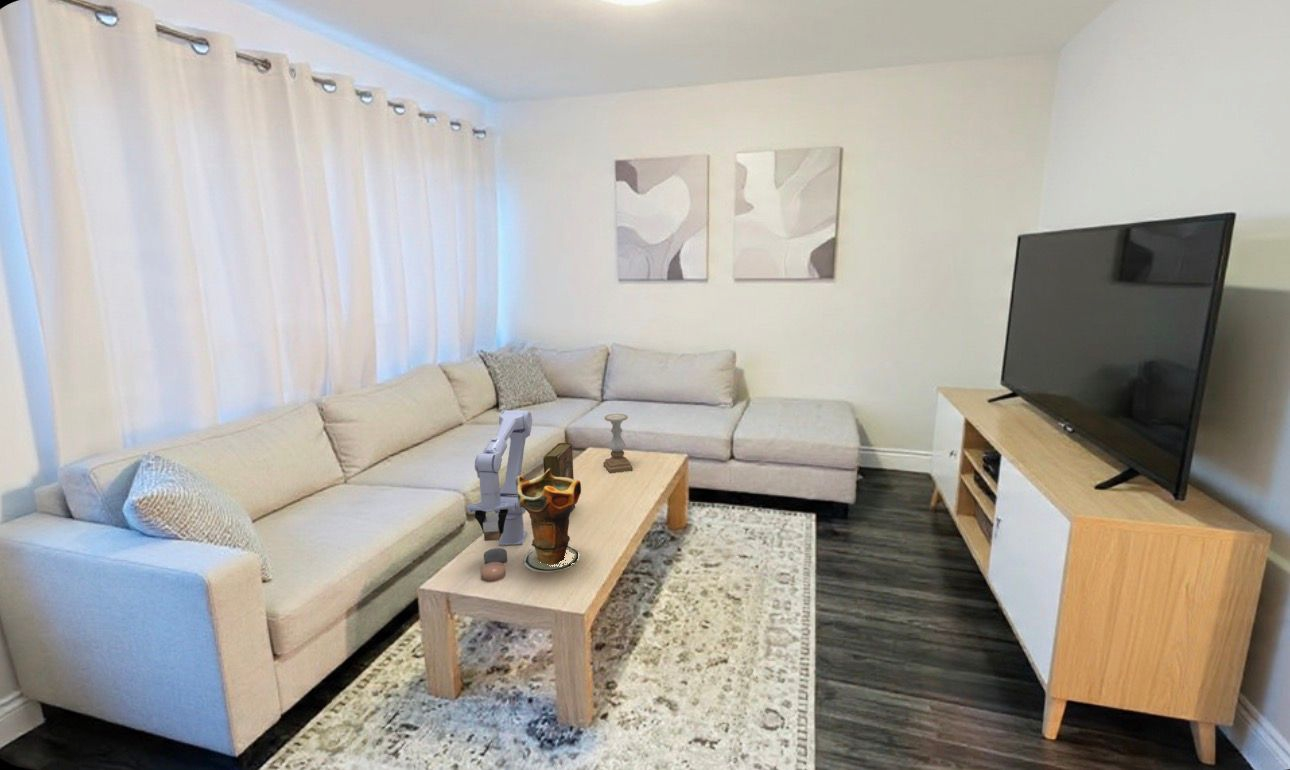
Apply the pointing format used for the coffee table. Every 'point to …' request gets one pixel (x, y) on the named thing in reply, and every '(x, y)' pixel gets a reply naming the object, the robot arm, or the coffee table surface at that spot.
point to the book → (560, 461)
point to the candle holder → (617, 446)
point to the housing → (491, 527)
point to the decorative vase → (548, 518)
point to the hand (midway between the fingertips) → (493, 532)
